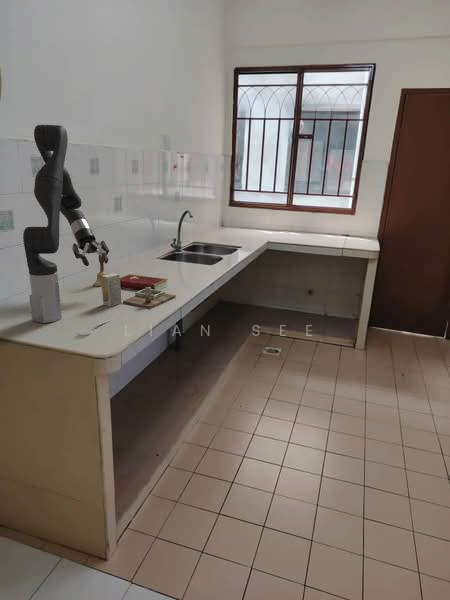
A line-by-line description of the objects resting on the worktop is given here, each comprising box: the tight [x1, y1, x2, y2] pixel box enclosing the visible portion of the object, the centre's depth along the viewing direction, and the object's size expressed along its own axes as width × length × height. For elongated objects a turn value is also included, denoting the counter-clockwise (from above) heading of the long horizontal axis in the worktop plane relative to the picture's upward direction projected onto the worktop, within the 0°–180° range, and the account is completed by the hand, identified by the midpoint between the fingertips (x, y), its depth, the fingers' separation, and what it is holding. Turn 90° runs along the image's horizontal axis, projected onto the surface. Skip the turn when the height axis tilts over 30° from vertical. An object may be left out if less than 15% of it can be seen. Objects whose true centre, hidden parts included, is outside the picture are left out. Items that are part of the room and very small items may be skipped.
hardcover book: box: [120, 273, 168, 291], centre depth 197 cm, size 12×21×4 cm, turn 69°
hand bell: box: [93, 254, 108, 287], centre depth 198 cm, size 8×8×16 cm
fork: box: [75, 317, 116, 336], centre depth 148 cm, size 3×24×2 cm, turn 162°
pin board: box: [122, 287, 177, 309], centre depth 177 cm, size 18×14×7 cm
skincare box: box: [101, 272, 123, 307], centre depth 170 cm, size 6×4×12 cm
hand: (97, 263), depth 175 cm, fingers open, 8 cm apart
